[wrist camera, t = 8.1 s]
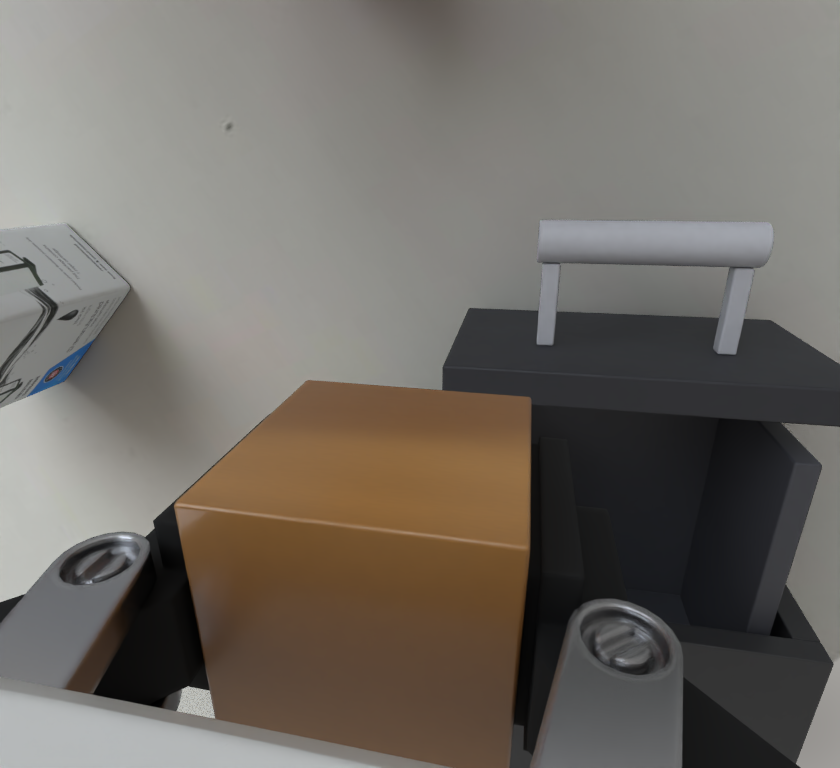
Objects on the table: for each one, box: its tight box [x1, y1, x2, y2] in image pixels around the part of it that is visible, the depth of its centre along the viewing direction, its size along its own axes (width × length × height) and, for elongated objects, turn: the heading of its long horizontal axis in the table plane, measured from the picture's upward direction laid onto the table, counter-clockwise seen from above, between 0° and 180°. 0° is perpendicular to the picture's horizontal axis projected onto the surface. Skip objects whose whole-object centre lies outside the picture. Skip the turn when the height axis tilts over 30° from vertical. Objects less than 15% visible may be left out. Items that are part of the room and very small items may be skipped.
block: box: [174, 380, 532, 768], centre depth 9 cm, size 4×4×4 cm
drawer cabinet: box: [510, 584, 833, 768], centre depth 26 cm, size 16×14×10 cm
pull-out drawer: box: [442, 220, 840, 636], centre depth 22 cm, size 19×13×8 cm, turn 0°
